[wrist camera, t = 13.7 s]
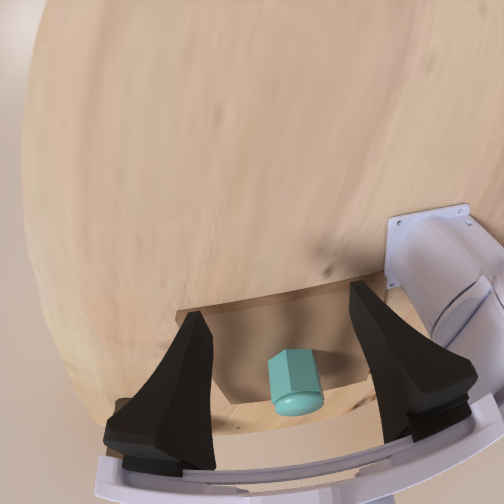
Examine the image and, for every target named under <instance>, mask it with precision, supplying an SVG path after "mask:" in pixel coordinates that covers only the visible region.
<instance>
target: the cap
mask: <svg viewBox="0 0 504 504" xmlns="http://www.w3.org/2000/svg"><path fill="white" fill-rule="evenodd" d="M268 368H269V379H270V390H271V401H272V403H273V404H274V405H275V411H276V413H277V414H279V415H282V416H301V415H305V414H309V413H312V412H314V411H316V410H318V409H320V408H321V407H322V406H323V404H324V402H323V400H324V395H323V390H322V385H321V380H320V375H319V371H318V366H317V361H316V359H315V357H314V355H313V352H312V350H311V349H285V350H283V351H282V352H280V353H279V354H278V355H276V356H275V357H273V358H272V359H270V360H269V361H268Z"/></svg>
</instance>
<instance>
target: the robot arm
mask: <svg viewBox="0 0 504 504" xmlns="http://www.w3.org/2000/svg"><path fill="white" fill-rule="evenodd" d="M458 210H459V211H458ZM469 211H470V206H469V205H468V204H466V203H465V204H460V205H454V206H449V207H443V208H438V209H432V210H427V211H421V212H416V213H411V214H405V215H400V216H395V217H391V218H390V219H389V221H388V229H387V243H386V255H385V265H384V275H385V277H386V278H387V286H386V289H391V288H394V287H398V286H402V287H403V289H404V291H405V292H406V294H407V296H408V297H409V299H410V301H411V303H412V304H413V306H414V308H415V310H416V312H417V313H418V315H419V317H420V319H421V321H422V323H423V324H424V326H425V328H426V330H427V332H428V334H429V336H430V338H431V340H432V341H431V340H430V339H428V338H427V337H425V336H424V335H422V334H421V333H419V332H418V331H417V330H415V329H414V328H413V327H411V326H410V325H409V324H408V323H406V322H405V321H404V320H403V319H402V318H400V317H399V316H398V315H397V314H396V313H395V312H394V311H393V310H392V309H391V308H390V307H389V306H387V305H386V304H385V303H384V302H383V301H382V300H381V299H380V298H379V297H378V296H377V295H376V294H375V292H374V291H373V290H372V289H371V288H370V287H369V286H368V285H367V284H366V283H365V282H364V281H363V280H358V281H354V282H350V294H349V314H350V317H351V321H352V325H353V328H354V331H355V333H356V336H357V338H358V341H359V343H360V346H361V348H362V351H363V353H364V356H365V358H366V361H367V363H368V366H369V369H370V372H371V375H372V379H373V383H374V387H375V392H376V396H377V400H378V405H379V411H380V417H381V423H382V430H383V437H384V445H381V446H378V447H374V448H371V449H367V450H364V451H360V452H357V453H353V454H349V455H345V456H340V457H336V458H332V459H327V460H322V461H316V462H311V463H305V464H299V465H293V466H285V467H275V468H265V469H252V470H230V471H229V470H225V471H214V470H215V469H216V462H215V455H214V448H213V439H212V428H211V411H210V392H211V380H212V369H213V357H214V347H213V335H212V333H211V331H210V329H209V327H208V325H207V323H206V321H205V319H204V317H203V315H202V313H201V311H193V312H188V314H187V315H186V317H185V319H184V321H183V323H182V325H181V327H180V329H179V331H178V333H177V335H176V337H175V338H174V340H173V342H172V344H171V346H170V347H169V349H168V351H167V353H166V354H165V356H164V357H163V359H162V361H161V362H160V364H159V365H158V367H157V368H156V370H155V371H154V373H153V374H152V375H151V377H150V378H149V379H148V381H147V382H146V383H145V384H144V385H143V387H142V388H141V389H140V390H139V391H138V392H137V394H136V395H135V396H134V397H133V398H132V399H131V400H130V401H129V402H128V403H127V404H126V405H124V406H123V407H122V408H121V409H120V410H119V411H118V412H116V413H115V414H114V415H113V416H112V417H110V418H109V419H108V420H107V423H106V428H105V433H104V438H103V443H104V444H105V445H106V446H107V447H109V448H111V449H113V450H114V451H116V452H118V453H120V454H122V455H124V456H123V460H122V459H119V458H115V457H110V456H105V455H100V456H99V462H98V469H97V475H96V483H95V490H94V495H95V496H98V497H102V498H105V499H108V500H111V501H115V502H118V503H122V504H395V501H394V496H393V494H394V493H396V492H399V491H402V490H405V489H407V488H410V487H412V486H414V485H417V484H419V483H422V482H424V481H426V480H428V479H430V478H433V477H435V476H437V475H439V474H440V473H443V472H445V471H447V470H449V469H450V468H453V467H454V466H456V465H458V464H459V463H462V462H463V461H465V460H467V459H469V458H470V457H472V456H474V455H475V454H477V453H478V452H480V451H482V450H483V449H485V448H486V447H488V446H489V445H491V444H492V443H494V442H495V441H497V440H498V439H500V438H501V437H502V436H504V248H503V247H502V246H501V245H500V244H499V243H498V242H497V241H496V240H495V239H494V238H493V237H492V236H491V235H490V234H489V233H488V232H487V231H486V230H485V229H484V228H483V227H482V226H481V225H480V224H479V223H478V222H477V221H475V220H474V219H473V218H472V217H471V216H470V215H469ZM398 221H400V222H399V223H397V222H398ZM391 283H392V284H391ZM387 458H388V459H387ZM384 459H385V460H384ZM381 460H382V461H381ZM378 461H380V462H378ZM375 462H377V463H375ZM371 463H375V464H372V465H369V466H366V467H364V468H361V469H360V470H359V472H358V473H357V474H355V478H351V479H347V480H341V481H336V482H331V483H326V484H320V485H314V486H307V487H300V488H293V489H285V490H276V491H265V492H252V493H249V491H248V490H243V489H238V488H236V487H231V486H214V485H211V484H216V485H217V484H218V485H230V484H231V485H235V484H257V483H271V482H282V481H290V480H298V479H304V478H310V477H316V476H322V475H327V474H331V473H336V472H341V471H344V470H349V469H353V468H357V467H361V466H364V465H368V464H371Z"/></svg>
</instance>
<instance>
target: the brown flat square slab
mask: <svg viewBox="0 0 504 504" xmlns="http://www.w3.org/2000/svg"><path fill="white" fill-rule="evenodd" d="M358 280H363V281H364V282H365V283H366V284H367V285H368V286H369V287H370V288H371V289H372V290H373V291H374V292H375V294H376V295H377V296H378V297H379V298H380V299H381V300H382V301H383V302H384V298H385V292H386V286H387V278H386V277H385V275H384V273H383V272H379V273H375V274H370V275H366V276H362V277H357V278H353V279H348V280H344V281H339V282H335V283H330V284H325V285H321V286H316V287H311V288H306V289H301V290H296V291H291V292H286V293H281V294H276V295H270V296H265V297H259V298H254V299H248V300H242V301H237V302H231V303H225V304H219V305H213V306H206V307H200V308H193V309H187V310H180V311H177V313H176V318H175V321H176V322H177V324H178V326H179V327H181V325H182V323H183V321H184V319H185V317H186V315H187V314H188V312H193V311H201V313H202V315H203V317H204V319H205V321H206V323H207V325H208V327H209V329H210V331H211V333H212V335H213V347H214V357H213V369H212V378H213V380H214V381H215V383H216V384H217V386H218V387H219V388H220V390H221V391H222V393H223V394H224V395H225V397H226V398H227V399H228V401H229V402H230V404H242V403H251V402H260V401H267V400H271V390H270V379H269V368H268V361H269V360H270V359H272V358H273V357H275V356H276V355H278V354H279V353H280V352H282V351H283V350H285V349H311V350H312V352H313V355H314V357H315V359H316V361H317V366H318V371H319V375H320V380H321V385H322V390H323V391H325V390H329V389H334V388H338V387H342V386H346V385H350V384H354V383H358V382H362V381H365V380H367V377H368V374H369V370H370V369H369V366H368V363H367V361H366V358H365V356H364V353H363V351H362V348H361V346H360V343H359V341H358V338H357V336H356V333H355V331H354V328H353V325H352V321H351V317H350V314H349V294H350V282H354V281H358Z"/></svg>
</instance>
